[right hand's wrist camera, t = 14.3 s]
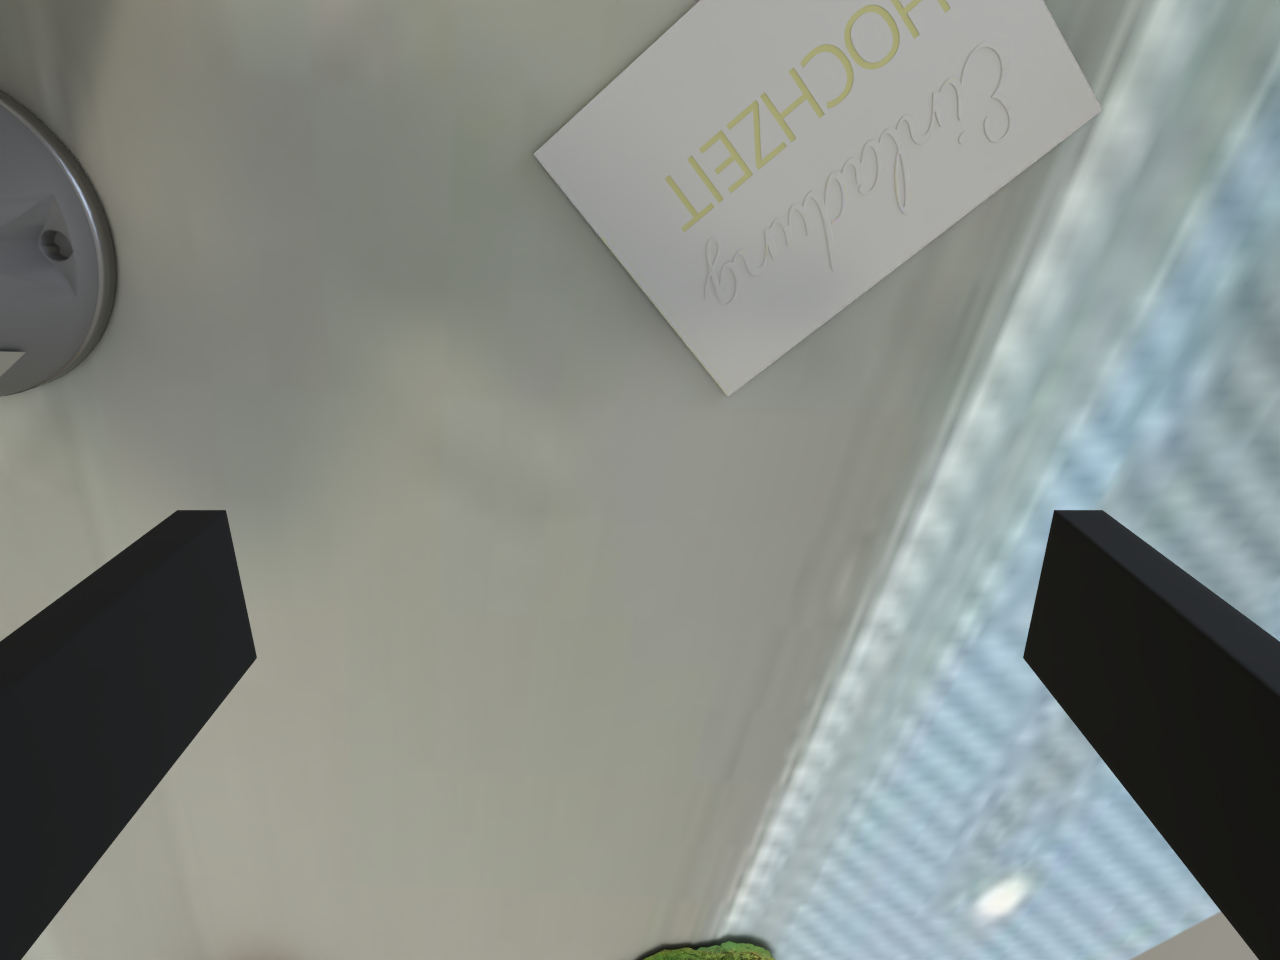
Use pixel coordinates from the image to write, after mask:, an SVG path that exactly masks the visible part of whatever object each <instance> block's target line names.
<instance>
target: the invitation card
mask: <svg viewBox="0 0 1280 960" xmlns="http://www.w3.org/2000/svg"><path fill="white" fill-rule="evenodd" d="M1102 110H1103V109H1102V107H1101V106H1100V104H1099V102H1098V100H1097V98H1096V96H1095V95H1094V93H1093V91H1092V89H1091V87H1090V85H1089V84H1088V82H1087V80H1086V78H1085V76H1084V74H1083V73H1082V71H1081V69H1080V67H1079V65H1078V63H1077V62H1076V60H1075V58H1074V56H1073V54H1072V53H1071V51H1070V49H1069V47H1068V45H1067V43H1066V42H1065V40H1064V38H1063V36H1062V34H1061V32H1060V31H1059V29H1058V27H1057V25H1056V23H1055V21H1054V20H1053V18H1052V16H1051V14H1050V12H1049V10H1048V9H1047V7H1046V5H1045V3H1044V1H1043V0H700V1H699V2H698V3H697V4H696V5H694V6H693V7H692V8H691V9H690V10H689V11H688V12H687V13H686V14H685V15H684V16H683V17H681V18H680V19H679V20H678V21H677V22H676V23H675V24H674V25H673V26H672V27H671V28H670V29H668V30H667V31H666V32H665V33H664V34H663V35H662V36H661V37H660V38H659V39H658V40H656V41H655V42H654V43H653V44H652V45H651V46H650V47H649V48H648V49H647V50H646V51H645V52H643V53H642V54H641V55H640V56H639V57H638V58H637V59H636V60H635V61H634V62H633V63H632V64H630V65H629V66H628V67H627V68H626V69H625V70H624V71H623V72H622V73H621V74H620V75H619V76H617V77H616V78H615V79H614V80H613V81H612V82H611V83H610V84H609V85H608V86H607V87H605V88H604V89H603V90H602V91H601V92H600V93H599V94H598V95H597V96H596V97H595V98H594V99H592V100H591V101H590V102H589V103H588V104H587V105H586V106H585V107H584V108H583V109H582V110H581V111H579V112H578V113H577V114H576V115H575V116H574V117H573V118H572V119H571V120H570V121H569V122H567V123H566V124H565V125H564V126H563V127H562V128H561V129H560V130H559V131H558V132H557V133H556V134H554V135H553V136H552V137H551V138H550V139H549V140H548V141H547V142H546V143H545V144H544V145H543V146H541V147H540V148H539V149H538V150H537V151H536V152H535V153H534V156H535V157H536V158H537V159H538V161H539V162H540V163H541V164H542V166H543V167H544V168H545V169H546V171H547V172H548V173H549V174H550V176H551V177H552V178H553V179H554V181H555V182H556V183H557V184H558V186H559V187H560V188H561V189H562V191H563V192H564V193H565V194H566V196H567V197H568V198H569V199H570V201H571V202H572V203H573V204H574V206H575V207H576V208H577V209H578V211H579V212H580V213H581V214H582V216H583V217H584V218H585V219H586V221H587V222H588V223H589V224H590V225H591V227H592V228H593V229H594V230H595V232H596V233H597V234H598V235H599V237H600V238H601V239H602V240H603V242H604V243H605V244H606V245H607V247H608V248H609V249H610V250H611V252H612V253H613V254H614V255H615V257H616V258H617V259H618V260H619V262H620V263H621V264H622V265H623V267H624V268H625V269H626V270H627V272H628V273H629V274H630V275H631V277H632V278H633V279H634V280H635V282H636V283H637V284H638V285H639V287H640V288H641V289H642V290H643V292H644V293H645V294H646V295H647V297H648V298H649V299H650V300H651V302H652V303H653V304H654V305H655V307H656V308H657V309H658V310H659V312H660V313H661V314H662V315H663V317H664V318H665V319H666V320H667V322H668V323H669V324H670V325H671V327H672V328H673V329H674V330H675V332H676V333H677V334H678V335H679V337H680V338H681V339H682V340H683V341H684V343H685V344H686V345H687V346H688V348H689V349H690V350H691V351H692V353H693V354H694V355H695V356H696V358H697V359H698V360H699V361H700V363H701V364H702V365H703V366H704V368H705V369H706V370H707V371H708V373H709V374H710V375H711V376H712V378H713V379H714V380H715V381H716V383H717V384H718V385H719V386H720V388H721V389H722V390H723V391H724V393H725V394H726V395H727V396H728V397H729V396H730V395H731V394H733V393H734V392H735V391H737V390H738V389H739V388H740V387H742V386H743V385H744V384H746V383H747V382H748V381H750V380H751V379H752V378H753V377H755V376H756V375H757V374H759V373H760V372H761V371H763V370H764V369H765V368H767V367H768V366H769V365H770V364H772V363H773V362H774V361H776V360H777V359H778V358H780V357H781V356H782V355H784V354H785V353H786V352H787V351H789V350H790V349H791V348H793V347H794V346H795V345H797V344H798V343H799V342H800V341H802V340H803V339H804V338H806V337H807V336H808V335H810V334H811V333H812V332H814V331H815V330H816V329H817V328H819V327H820V326H821V325H823V324H824V323H825V322H827V321H828V320H829V319H831V318H832V317H833V316H834V315H836V314H837V313H838V312H840V311H841V310H842V309H844V308H845V307H846V306H847V305H849V304H850V303H851V302H853V301H854V300H855V299H857V298H858V297H859V296H861V295H862V294H863V293H864V292H866V291H867V290H868V289H870V288H871V287H872V286H874V285H875V284H876V283H878V282H879V281H880V280H881V279H883V278H884V277H885V276H887V275H888V274H889V273H891V272H892V271H893V270H894V269H896V268H897V267H898V266H900V265H901V264H902V263H904V262H905V261H906V260H908V259H909V258H910V257H911V256H913V255H914V254H915V253H917V252H918V251H919V250H921V249H922V248H923V247H924V246H926V245H927V244H928V243H930V242H931V241H932V240H934V239H935V238H936V237H938V236H939V235H940V234H941V233H943V232H944V231H945V230H947V229H948V228H949V227H951V226H952V225H953V224H955V223H956V222H957V221H958V220H960V219H961V218H962V217H964V216H965V215H966V214H968V213H969V212H970V211H971V210H973V209H974V208H975V207H977V206H978V205H979V204H981V203H982V202H983V201H985V200H986V199H987V198H988V197H990V196H991V195H992V194H994V193H995V192H996V191H998V190H999V189H1000V188H1002V187H1003V186H1004V185H1005V184H1007V183H1008V182H1009V181H1011V180H1012V179H1013V178H1015V177H1016V176H1017V175H1018V174H1020V173H1021V172H1022V171H1024V170H1025V169H1026V168H1028V167H1029V166H1030V165H1032V164H1033V163H1034V162H1035V161H1037V160H1038V159H1039V158H1041V157H1042V156H1043V155H1045V154H1046V153H1047V152H1049V151H1050V150H1051V149H1052V148H1054V147H1055V146H1056V145H1058V144H1059V143H1060V142H1062V141H1063V140H1064V139H1065V138H1067V137H1068V136H1069V135H1071V134H1072V133H1073V132H1075V131H1076V130H1077V129H1079V128H1080V127H1081V126H1082V125H1084V124H1085V123H1086V122H1088V121H1089V120H1090V119H1092V118H1093V117H1094V116H1096V115H1097V114H1098V113H1099V112H1101V111H1102Z"/></svg>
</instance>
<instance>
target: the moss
mask: <svg viewBox="0 0 1280 960" xmlns="http://www.w3.org/2000/svg"><path fill="white" fill-rule="evenodd" d="M643 960H775V959H774V958H772V957H771V953H770V952H769V950H765V949H764V948H762V947H758V946H754V945H753V944H749V943H748V944H745V943H738V944H737V943H734V942H731V941H728V942H726V943H722V944H721V946H718V945H714V946H712V947H708V948H705V947H704V948H703V947H701V948H699V949H698V950H693V949H691V948H682V949H675V950H662V951H660V952H658V953H656V954H654V955H652V956H650V957H647V958H645V959H643Z"/></svg>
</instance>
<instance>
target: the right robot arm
mask: <svg viewBox="0 0 1280 960" xmlns="http://www.w3.org/2000/svg"><path fill="white" fill-rule="evenodd" d="M115 289H116V265H115V255H114V248H113V242H112V238H111V234H110V231H109V227H108V224H107V221H106V218H105V215H104V212H103V209H102V207H101V205H100V203H99V200H98V198H97V196H96V194H95V192H94V190H93V188H92V186H91V185H90V183H89V181H88V179H87V177H86V176H85V174H84V173H83V171H82V170H81V168H80V166H79V165H78V163H77V162H76V160H75V159H74V158H73V157H72V155H71V154H70V153H69V151H68V150H67V149H66V147H65V146H64V145H63V144H62V143H61V142H60V141H59V139H58V138H57V137H56V136H55V135H54V134H53V133H52V132H51V131H50V130H49V129H48V128H47V127H46V126H45V125H44V124H43V123H42V122H41V121H40V120H39V119H38V118H37V117H36V116H34V115H33V114H32V113H31V112H30V111H28V110H27V109H26V108H25V107H23V106H22V105H21V104H19V103H18V102H17V101H15V100H14V99H12V98H11V97H9V96H8V95H7V94H5V93H3V92H2V91H0V396H7V395H12V394H16V393H20V392H23V391H26V390H29V389H32V388H35V387H37V386H40V385H43V384H46V383H48V382H51V381H53V380H55V379H57V378H59V377H61V376H63V375H64V374H66V373H68V372H69V371H71V370H72V369H74V368H75V367H76V366H77V365H78V364H79V363H81V362H82V361H83V360H84V359H85V358H86V357H87V356H88V354H89V353H90V352H91V351H92V350H93V348H94V347H95V346H96V344H97V343H98V341H99V340H100V338H101V336H102V334H103V332H104V330H105V328H106V326H107V323H108V320H109V318H110V315H111V311H112V307H113V303H114V296H115ZM256 658H257V656H256V652H255V647H254V642H253V637H252V633H251V628H250V623H249V618H248V614H247V609H246V604H245V599H244V595H243V590H242V585H241V580H240V575H239V571H238V566H237V561H236V556H235V552H234V547H233V542H232V537H231V533H230V528H229V523H228V518H227V514H226V510H177V511H176V512H175V513H173V514H172V515H171V516H169V517H168V518H166V519H165V520H164V521H162V522H161V523H160V524H158V525H157V526H156V527H154V528H153V529H152V530H150V531H149V532H148V533H146V534H145V535H144V536H142V537H141V538H139V539H138V540H137V541H135V542H134V543H133V544H131V545H130V546H129V547H127V548H126V549H125V550H123V551H122V552H121V553H119V554H118V555H117V556H115V557H114V558H113V559H111V560H110V561H108V562H107V563H106V564H104V565H103V566H102V567H100V568H99V569H98V570H96V571H95V572H94V573H92V574H91V575H90V576H88V577H87V578H86V579H84V580H83V581H82V582H80V583H79V584H77V585H76V586H75V587H73V588H72V589H71V590H69V591H68V592H67V593H65V594H64V595H63V596H61V597H60V598H59V599H57V600H56V601H55V602H53V603H52V604H51V605H49V606H48V607H46V608H45V609H44V610H42V611H41V612H40V613H38V614H37V615H36V616H34V617H33V618H32V619H30V620H29V621H28V622H26V623H25V624H24V625H22V626H21V627H20V628H18V629H17V630H15V631H14V632H13V633H11V634H10V635H9V636H7V637H6V638H5V639H3V640H2V641H1V642H0V960H21V959H22V958H23V956H24V955H25V954H26V953H27V951H28V950H29V949H30V947H31V946H32V945H33V944H34V942H35V941H36V940H37V938H38V937H39V936H40V935H41V933H42V932H43V931H44V930H45V928H46V927H47V926H48V924H49V923H50V922H51V921H52V919H53V918H54V917H55V915H56V914H57V913H58V912H59V910H60V909H61V908H62V906H63V905H64V904H65V903H66V901H67V900H68V899H69V898H70V896H71V895H72V894H73V892H74V891H75V890H76V889H77V887H78V886H79V885H80V883H81V882H82V881H83V880H84V878H85V877H86V876H87V874H88V873H89V872H90V871H91V869H92V868H93V867H94V866H95V864H96V863H97V862H98V860H99V859H100V858H101V857H102V855H103V854H104V853H105V851H106V850H107V849H108V848H109V846H110V845H111V844H112V842H113V841H114V840H115V839H116V837H117V836H118V835H119V834H120V832H121V831H122V830H123V828H124V827H125V826H126V825H127V823H128V822H129V821H130V819H131V818H132V817H133V816H134V814H135V813H136V812H137V810H138V809H139V808H140V807H141V805H142V804H143V803H144V802H145V800H146V799H147V798H148V796H149V795H150V794H151V793H152V791H153V790H154V789H155V787H156V786H157V785H158V784H159V782H160V781H161V780H162V778H163V777H164V776H165V775H166V773H167V772H168V771H169V770H170V768H171V767H172V766H173V764H174V763H175V762H176V761H177V759H178V758H179V757H180V755H181V754H182V753H183V752H184V750H185V749H186V748H187V746H188V745H189V744H190V743H191V741H192V740H193V739H194V738H195V736H196V735H197V734H198V732H199V731H200V730H201V729H202V727H203V726H204V725H205V723H206V722H207V721H208V720H209V718H210V717H211V716H212V714H213V713H214V712H215V711H216V709H217V708H218V707H219V706H220V704H221V703H222V702H223V700H224V699H225V698H226V697H227V695H228V694H229V693H230V691H231V690H232V689H233V688H234V686H235V685H236V684H237V682H238V681H239V680H240V679H241V677H242V676H243V675H244V674H245V672H246V671H247V670H248V668H249V667H250V666H251V665H252V663H253V662H254V661H255V659H256ZM1023 658H1024V659H1025V661H1026V662H1027V663H1028V665H1029V666H1030V667H1031V668H1032V670H1033V671H1034V672H1035V674H1036V675H1037V676H1038V677H1039V679H1040V680H1041V681H1042V682H1043V684H1044V685H1045V686H1046V688H1047V689H1048V690H1049V691H1050V693H1051V694H1052V695H1053V697H1054V698H1055V699H1056V700H1057V702H1058V703H1059V704H1060V706H1061V707H1062V708H1063V709H1064V711H1065V712H1066V713H1067V714H1068V716H1069V717H1070V718H1071V720H1072V721H1073V722H1074V723H1075V725H1076V726H1077V727H1078V729H1079V730H1080V731H1081V732H1082V734H1083V735H1084V736H1085V738H1086V739H1087V740H1088V741H1089V743H1090V744H1091V745H1092V746H1093V748H1094V749H1095V750H1096V752H1097V753H1098V754H1099V755H1100V757H1101V758H1102V759H1103V761H1104V762H1105V763H1106V764H1107V766H1108V767H1109V768H1110V770H1111V771H1112V772H1113V773H1114V775H1115V776H1116V777H1117V778H1118V780H1119V781H1120V782H1121V784H1122V785H1123V786H1124V787H1125V789H1126V790H1127V791H1128V793H1129V794H1130V795H1131V796H1132V798H1133V799H1134V800H1135V802H1136V803H1137V804H1138V805H1139V807H1140V808H1141V809H1142V810H1143V812H1144V813H1145V814H1146V816H1147V817H1148V818H1149V819H1150V821H1151V822H1152V823H1153V825H1154V826H1155V827H1156V828H1157V830H1158V831H1159V832H1160V834H1161V835H1162V836H1163V837H1164V839H1165V840H1166V841H1167V842H1168V844H1169V845H1170V846H1171V848H1172V849H1173V850H1174V851H1175V853H1176V854H1177V855H1178V857H1179V858H1180V859H1181V860H1182V862H1183V863H1184V864H1185V866H1186V867H1187V868H1188V869H1189V871H1190V872H1191V873H1192V874H1193V876H1194V877H1195V878H1196V880H1197V881H1198V882H1199V883H1200V885H1201V886H1202V887H1203V889H1204V890H1205V891H1206V892H1207V894H1208V895H1209V896H1210V898H1211V899H1212V900H1213V901H1214V903H1215V904H1216V905H1217V906H1218V908H1219V909H1220V910H1221V912H1222V913H1223V914H1224V915H1225V917H1226V918H1227V919H1228V921H1229V922H1230V923H1231V924H1232V926H1233V927H1234V928H1235V930H1236V931H1237V932H1238V933H1239V935H1240V936H1241V937H1242V938H1243V940H1244V941H1245V942H1246V944H1247V945H1248V946H1249V947H1250V949H1251V950H1252V951H1253V953H1254V954H1255V955H1256V956H1257V958H1258V959H1259V960H1280V642H1279V641H1278V640H1277V639H1275V638H1274V637H1273V636H1271V635H1270V634H1269V633H1267V632H1266V631H1265V630H1263V629H1262V628H1260V627H1259V626H1258V625H1256V624H1255V623H1254V622H1252V621H1251V620H1250V619H1248V618H1247V617H1246V616H1244V615H1243V614H1242V613H1240V612H1239V611H1238V610H1236V609H1235V608H1234V607H1232V606H1231V605H1229V604H1228V603H1227V602H1225V601H1224V600H1223V599H1221V598H1220V597H1219V596H1217V595H1216V594H1215V593H1213V592H1212V591H1211V590H1209V589H1208V588H1207V587H1205V586H1204V585H1203V584H1201V583H1200V582H1198V581H1197V580H1196V579H1194V578H1193V577H1192V576H1190V575H1189V574H1188V573H1186V572H1185V571H1184V570H1182V569H1181V568H1180V567H1178V566H1177V565H1176V564H1174V563H1173V562H1172V561H1170V560H1169V559H1167V558H1166V557H1165V556H1163V555H1162V554H1161V553H1159V552H1158V551H1157V550H1155V549H1154V548H1153V547H1151V546H1150V545H1149V544H1147V543H1146V542H1145V541H1143V540H1142V539H1141V538H1139V537H1138V536H1136V535H1135V534H1134V533H1132V532H1131V531H1130V530H1128V529H1127V528H1126V527H1124V526H1123V525H1122V524H1120V523H1119V522H1118V521H1116V520H1115V519H1114V518H1112V517H1111V516H1109V515H1108V514H1107V513H1105V512H1104V511H1103V510H1054V514H1053V518H1052V523H1051V528H1050V533H1049V537H1048V542H1047V547H1046V552H1045V556H1044V561H1043V566H1042V571H1041V575H1040V580H1039V585H1038V590H1037V595H1036V599H1035V604H1034V609H1033V614H1032V618H1031V623H1030V628H1029V633H1028V637H1027V642H1026V647H1025V652H1024V656H1023Z"/></svg>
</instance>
